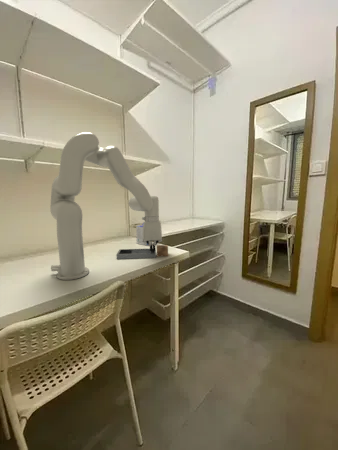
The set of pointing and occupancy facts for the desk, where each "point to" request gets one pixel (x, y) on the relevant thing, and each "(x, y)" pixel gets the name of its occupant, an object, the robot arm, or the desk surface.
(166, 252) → the walnut block
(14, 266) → the desk surface
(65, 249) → the robot arm
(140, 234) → the ink cartridge box
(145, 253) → the dark grey tray
